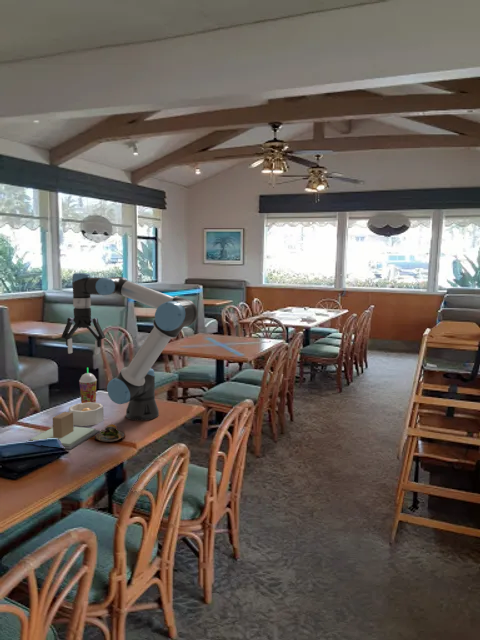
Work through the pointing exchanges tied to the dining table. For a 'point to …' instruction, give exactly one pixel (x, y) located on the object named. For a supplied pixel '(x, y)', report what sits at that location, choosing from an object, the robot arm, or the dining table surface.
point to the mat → (81, 440)
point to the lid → (65, 430)
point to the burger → (110, 434)
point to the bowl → (87, 413)
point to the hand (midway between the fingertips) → (83, 353)
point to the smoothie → (88, 388)
